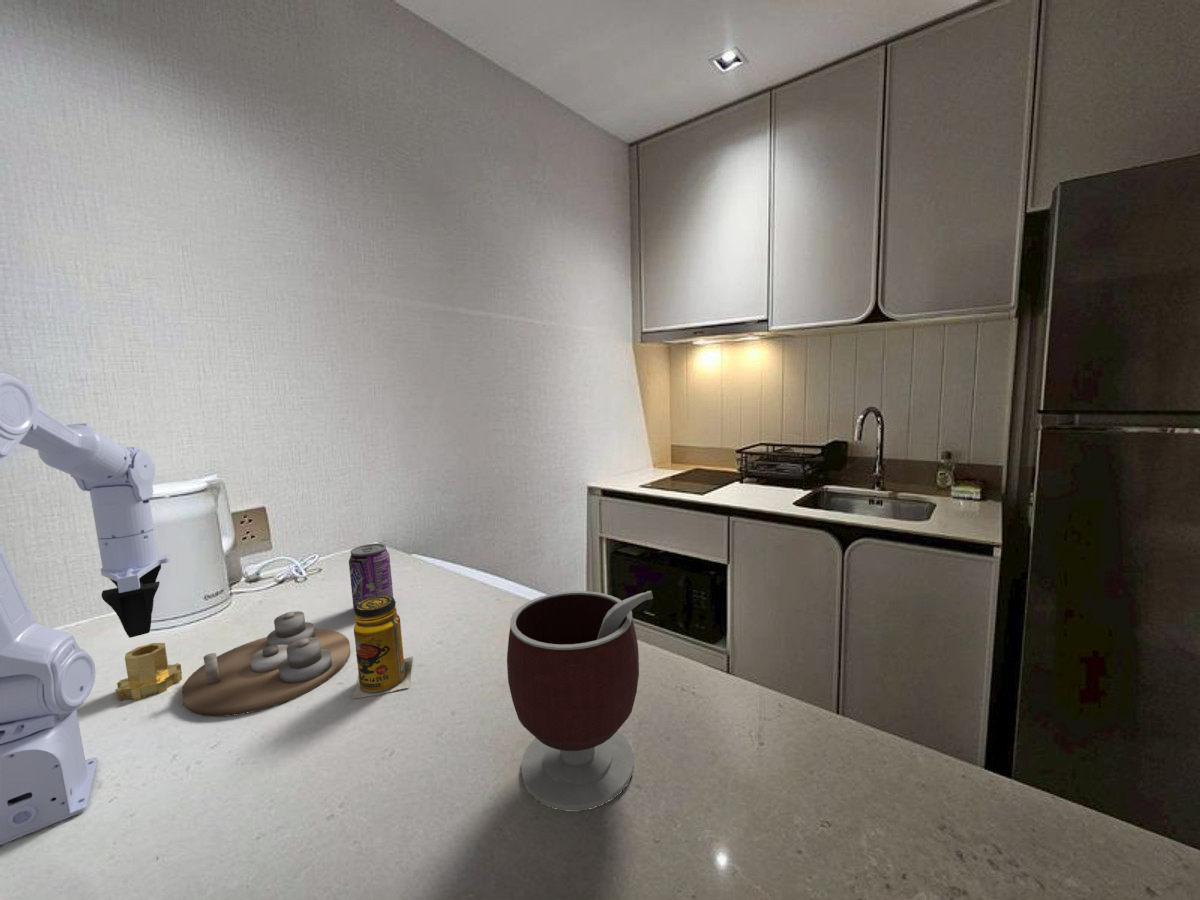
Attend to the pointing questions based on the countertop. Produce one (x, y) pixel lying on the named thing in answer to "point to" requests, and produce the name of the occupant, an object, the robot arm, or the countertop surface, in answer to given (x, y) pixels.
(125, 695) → the brass gear
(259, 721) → the countertop surface
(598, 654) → the mate gourd
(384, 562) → the beverage can
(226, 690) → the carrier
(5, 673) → the robot arm
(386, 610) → the condiment
